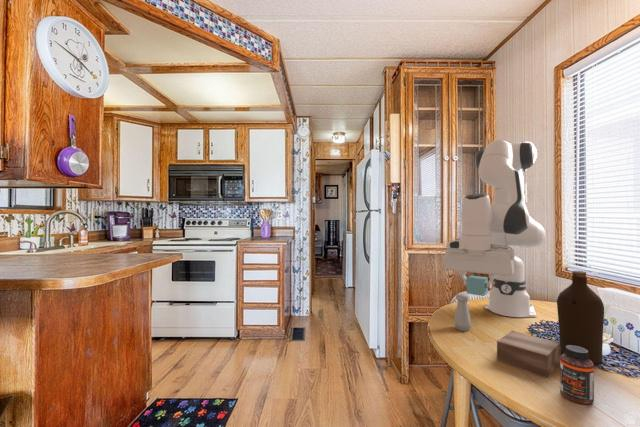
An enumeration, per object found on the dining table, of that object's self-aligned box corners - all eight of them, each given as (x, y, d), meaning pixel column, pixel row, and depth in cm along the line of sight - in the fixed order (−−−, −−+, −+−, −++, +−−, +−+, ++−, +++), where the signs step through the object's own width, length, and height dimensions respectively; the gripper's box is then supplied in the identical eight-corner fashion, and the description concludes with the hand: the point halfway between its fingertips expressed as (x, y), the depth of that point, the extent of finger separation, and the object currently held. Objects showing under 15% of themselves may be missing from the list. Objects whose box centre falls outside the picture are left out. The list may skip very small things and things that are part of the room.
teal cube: (471, 290, 102) (471, 275, 102) (488, 292, 99) (487, 277, 99) (466, 293, 98) (466, 277, 98) (483, 296, 95) (483, 280, 95)
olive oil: (612, 368, 83) (611, 276, 83) (564, 361, 87) (562, 273, 87) (595, 352, 92) (594, 269, 93) (553, 346, 97) (552, 267, 97)
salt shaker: (473, 332, 108) (472, 296, 109) (456, 331, 110) (455, 295, 110) (468, 326, 114) (468, 292, 114) (452, 325, 115) (452, 291, 115)
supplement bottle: (558, 397, 70) (557, 348, 70) (562, 387, 74) (561, 340, 74) (593, 409, 66) (592, 356, 66) (595, 397, 70) (594, 348, 70)
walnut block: (512, 349, 95) (512, 330, 95) (560, 364, 86) (559, 342, 86) (497, 362, 88) (496, 341, 88) (547, 379, 78) (547, 355, 78)
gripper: (516, 244, 94) (516, 289, 94) (448, 241, 108) (448, 280, 108) (512, 246, 89) (512, 293, 89) (441, 242, 103) (442, 283, 103)
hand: (477, 286), depth 98 cm, fingers closed on teal cube, 5 cm apart
